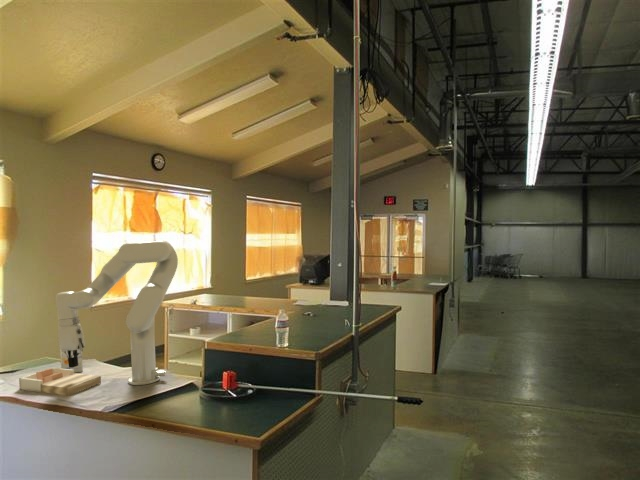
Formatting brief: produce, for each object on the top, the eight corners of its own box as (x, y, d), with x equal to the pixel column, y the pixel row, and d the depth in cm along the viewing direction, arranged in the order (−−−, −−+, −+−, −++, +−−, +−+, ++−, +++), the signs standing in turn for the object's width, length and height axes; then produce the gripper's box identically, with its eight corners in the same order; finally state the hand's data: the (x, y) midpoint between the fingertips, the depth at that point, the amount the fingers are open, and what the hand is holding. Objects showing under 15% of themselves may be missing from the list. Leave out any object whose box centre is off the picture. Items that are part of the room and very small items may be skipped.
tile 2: (63, 379, 206) (62, 372, 206) (53, 383, 201) (51, 375, 202) (55, 381, 208) (53, 373, 208) (44, 384, 203) (43, 377, 203)
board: (100, 383, 205) (100, 376, 205) (68, 395, 191) (68, 388, 190) (74, 380, 211) (73, 373, 211) (40, 392, 196) (40, 384, 196)
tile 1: (51, 368, 208) (46, 369, 209) (41, 371, 203) (35, 372, 204) (54, 380, 208) (48, 380, 209) (43, 383, 203) (38, 384, 204)
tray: (74, 380, 211) (73, 369, 211) (40, 392, 196) (40, 380, 196) (53, 377, 215) (53, 367, 215) (19, 389, 200) (19, 378, 200)
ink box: (62, 375, 219) (60, 342, 219) (60, 372, 223) (59, 340, 223) (83, 371, 224) (81, 339, 223) (81, 369, 228) (80, 337, 227)
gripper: (90, 320, 201) (94, 364, 202) (63, 320, 207) (68, 363, 207) (74, 324, 194) (79, 370, 195) (47, 324, 200) (52, 368, 200)
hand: (73, 366), depth 201 cm, fingers closed
